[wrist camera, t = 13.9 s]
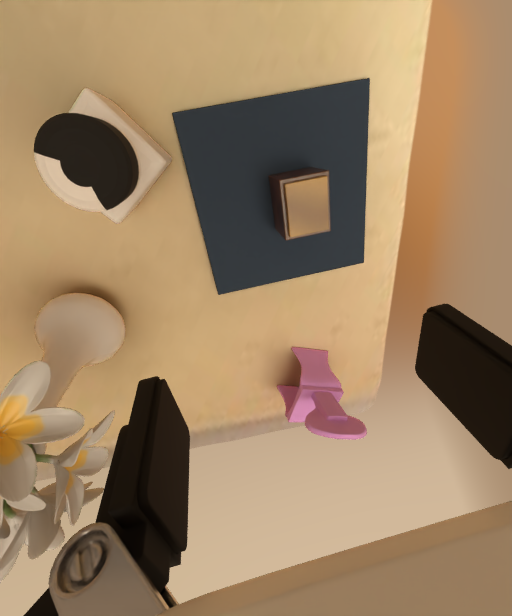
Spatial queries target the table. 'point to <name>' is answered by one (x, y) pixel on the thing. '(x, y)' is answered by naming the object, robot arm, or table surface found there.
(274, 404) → the table surface
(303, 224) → the brown block
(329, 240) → the desk pad
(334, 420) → the toy chair
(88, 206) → the medicine bottle
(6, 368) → the table surface
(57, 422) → the flower vase
